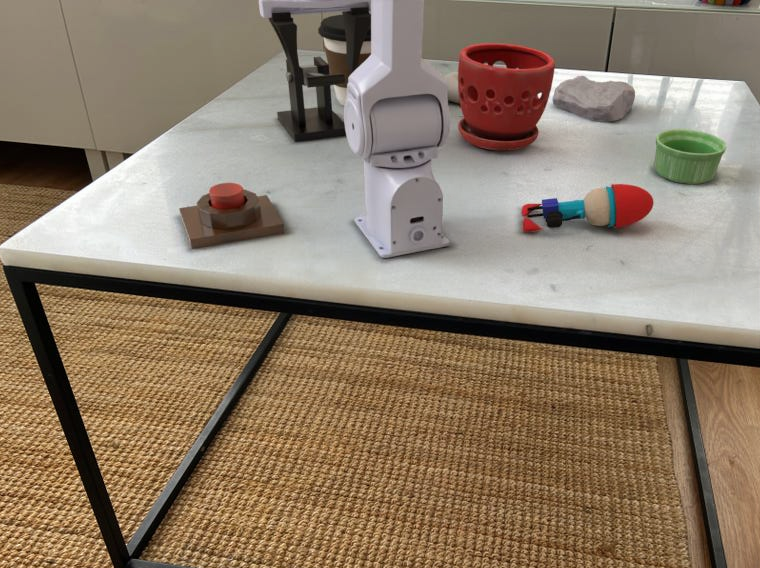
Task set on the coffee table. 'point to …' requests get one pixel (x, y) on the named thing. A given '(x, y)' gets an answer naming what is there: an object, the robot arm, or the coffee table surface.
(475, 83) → the flower pot
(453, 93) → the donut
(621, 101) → the stone block
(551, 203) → the toy figure
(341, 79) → the lever
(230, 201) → the button
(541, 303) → the coffee table surface
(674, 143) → the ramekin
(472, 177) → the coffee table surface
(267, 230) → the button block
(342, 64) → the coffee cup
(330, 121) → the bracket
